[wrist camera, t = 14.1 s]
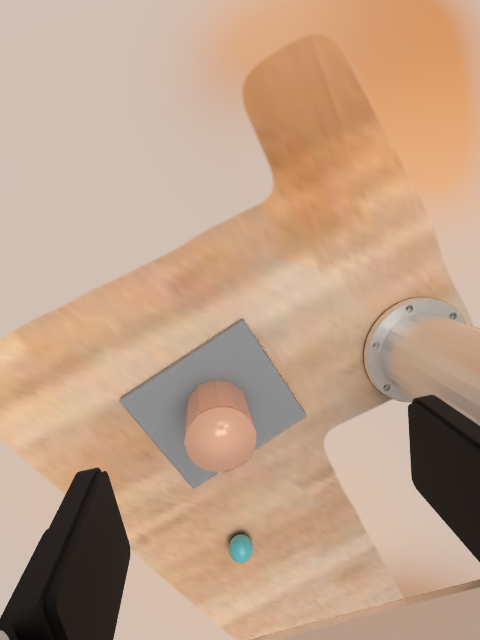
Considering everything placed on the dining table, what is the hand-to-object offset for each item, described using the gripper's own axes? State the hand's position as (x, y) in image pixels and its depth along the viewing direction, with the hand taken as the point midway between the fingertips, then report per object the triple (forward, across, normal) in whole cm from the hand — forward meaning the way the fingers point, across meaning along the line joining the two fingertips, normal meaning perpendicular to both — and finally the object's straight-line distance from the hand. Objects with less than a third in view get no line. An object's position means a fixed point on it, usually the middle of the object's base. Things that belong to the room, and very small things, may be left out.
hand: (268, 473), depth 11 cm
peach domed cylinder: (+28, +2, +12) cm, 30 cm away
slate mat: (+28, +2, +12) cm, 31 cm away
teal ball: (+28, +3, +31) cm, 42 cm away
